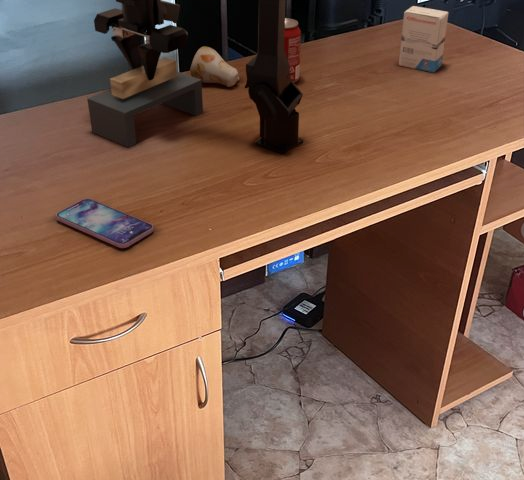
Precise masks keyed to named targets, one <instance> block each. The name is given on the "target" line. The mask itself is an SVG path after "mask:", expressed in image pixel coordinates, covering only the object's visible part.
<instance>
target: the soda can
mask: <svg viewBox="0 0 524 480" xmlns="http://www.w3.org/2000/svg"><path fill="white" fill-rule="evenodd" d="M301 41H302V31H301V29H300V27H299V22H298V20H297V19H294V18H287V17H285V32H284V51H285V54H286V56H287V59H288V62H289V68H290V76H291V80H292V82H293V83H294V84H295V83H296V82H298V81H299V79H300V71H301V68H300V67H301V46H302V45H301Z"/></svg>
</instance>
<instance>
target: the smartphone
mask: <svg viewBox="0 0 524 480" xmlns="http://www.w3.org/2000/svg"><path fill="white" fill-rule="evenodd" d="M55 218H56V220H57V221H58V222H60V223H62V224H65V225H67V226H69V227H72V228H74V229H76V230H78V231H81V232H82V233H85V234H88V235H90V236H92V237H94V238H96V239H98V240H101V241H103V242H106V243H107V244H110V245H112V246H114V247H117V248H119V249H125V248H129V247H130V246H132V245H133V244H135V243H137V242H139V241H140V240H142V239H143V238H144V239H145V237H147V236H148V235H150V234H152V233H153V232H154V225H153V223H150V222H148V221H146V220H143V219H140V218H139V217H136V216H133V215H130V214H128V213H126V212H124V211H121V210H119V209H116V208H114V207H112V206H110V205H107V204H105V203H102V202H99V201H97V200H94V199H93V198H83V199H81V200H78V201H76V202H75V203H73V204H71V205H69V206H67V207H65V208H64V209H62V210H60V211H58V212H56V214H55Z"/></svg>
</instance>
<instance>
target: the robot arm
mask: <svg viewBox="0 0 524 480" xmlns="http://www.w3.org/2000/svg"><path fill="white" fill-rule="evenodd" d="M286 1H287V0H258V21H257V23H258V24H257V53H256V54H255V55H254V56H253V57H252V58H251V59H250V60H249V61H248V62H247V63H246V64H245V74H246V75H245V76H246V83H245V85H244V89H248V90H247V91H248V96H249V99H250V100H251V101H253V103H254V104H255V107H256V110H257V113H258V116H259V139H256V140H255V144H256V145H257V146H260V147H263V148H266V149H268V150H271V151H273V152H276V153H279V154H285V153H286V152H288V151H290V150H292V149H294V148H296V147H297V146H299V145H301V144H302V143H304V138H301V137H299V130H300V129H299V127H300V126H299V124H300V112H299V111H297V109H296V108H297V107H298V106H299V105H300V103H301V101H302V98H303V96H304V93H303V92H302V91H301V90H300V89H299V88H298V86H297V85H296V84H295V82H294V83H293V82H292V80H291V76H290V68H289V62H288V59H287V56H286V54H285V51H284V32H285V18H286V5H287V4H286V3H287V2H286ZM115 2H117V3H119V4H121V9H119V8H116V7H114V8H111V9H108V10H106V11H102V12H99V13H96V15H95V17H94V19H93V24H94V31H95V32H97V33H100V34H104V35H106V34H108V33H109V31H110V27H111V29H113V35H112V36H111V37H110V39H111V41H112V42H114V43H115V45H116V46H117V48H118V49H119V51H120V52H121V53H122V55H123V57H124V58H125V59H126V62H127V64H128V66H130V68H131V70H134V69H136V68H139V67H141V66H144V70H145V73H146V75H147V78H148V80H152V79H154V76H155V72H156V68H157V64H158V61H159V59H160V57H161V54H169V53H171V52H174V51H176V50H179V49H182V48H185V47H188V46H189V32H188V31H187V30H186V29H185V28H182V27H180V26H176V25H173V24H178V21H179V14H180V8H181V5H180V4H178V3H174V2H170V1H165V0H115ZM165 21H166V22H171V23H173V24H169V25H165V26H163V27H160V28H157V27H156V26H161V25H164V24H165ZM143 38H145V40H144V42H145V43H143V44H142V41H143Z"/></svg>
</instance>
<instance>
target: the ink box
mask: <svg viewBox="0 0 524 480" xmlns="http://www.w3.org/2000/svg"><path fill="white" fill-rule="evenodd" d="M448 19H449V11H445V10H440V9H433V8H429V7H423V6H416V5H412V6H410V7H409V8H408V9H406V10H405V11H404V12H403V18H402V27H401V28H402V29H401V37H400V38H401V39H400V48H399V56H398V57H399V58H398V65H399V66H400V67H405V68H409V69H415V70H418V71H424V72H428V73H435V72H437V70H439V69H440V68H441V67H442V64H443V56H444V49H445V42H446V36H447V27H448Z"/></svg>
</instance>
